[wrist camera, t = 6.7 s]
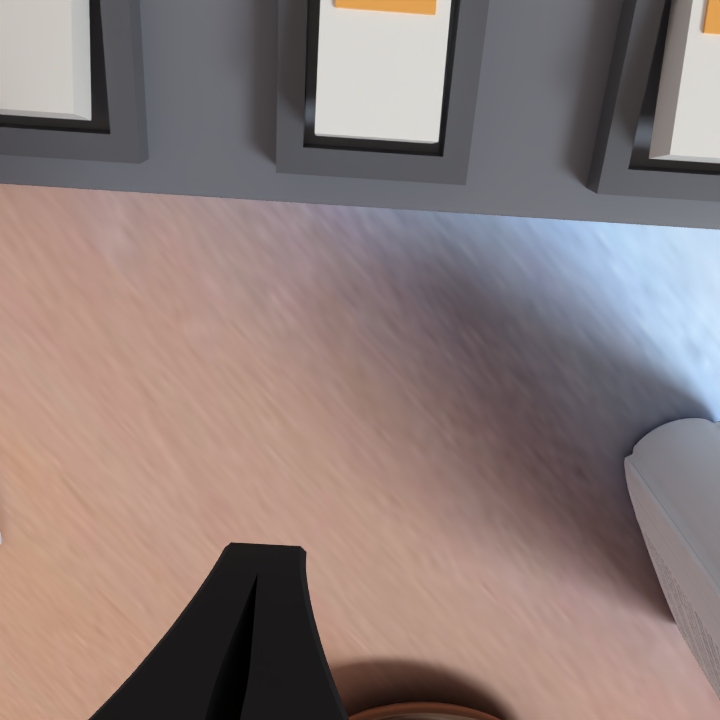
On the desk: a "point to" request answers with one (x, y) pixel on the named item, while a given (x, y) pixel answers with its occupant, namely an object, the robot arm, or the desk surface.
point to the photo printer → (683, 527)
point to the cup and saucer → (421, 712)
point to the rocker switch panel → (366, 156)
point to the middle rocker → (381, 69)
